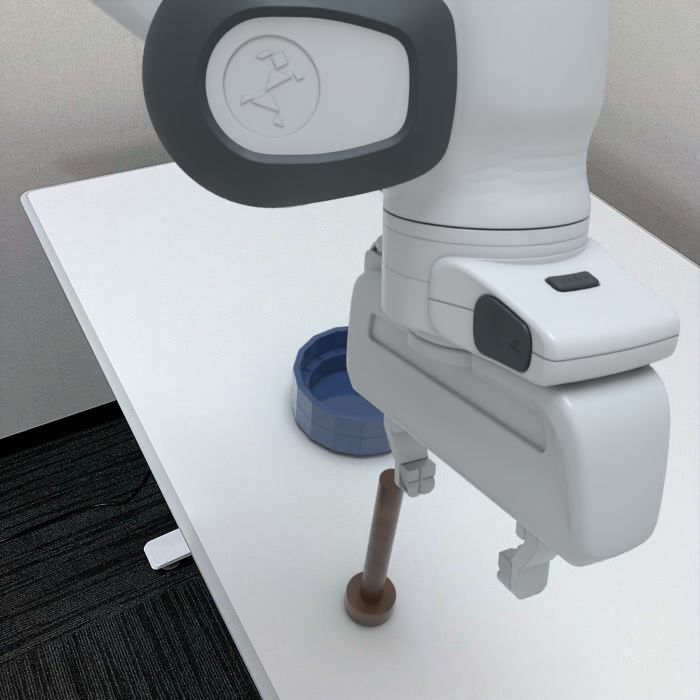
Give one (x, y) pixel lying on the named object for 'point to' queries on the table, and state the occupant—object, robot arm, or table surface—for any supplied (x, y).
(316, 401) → the bowl
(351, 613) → the stick
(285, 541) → the table surface
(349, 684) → the table surface
